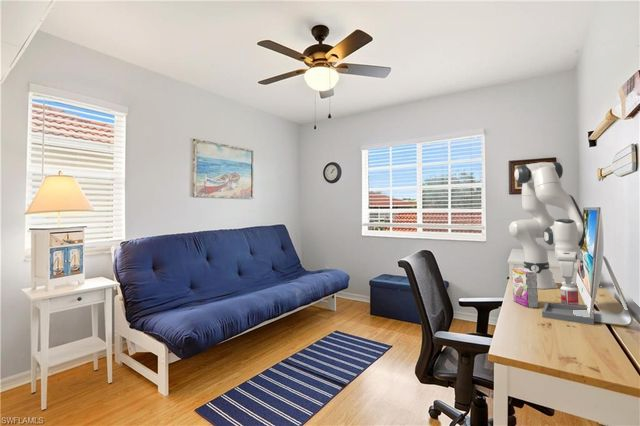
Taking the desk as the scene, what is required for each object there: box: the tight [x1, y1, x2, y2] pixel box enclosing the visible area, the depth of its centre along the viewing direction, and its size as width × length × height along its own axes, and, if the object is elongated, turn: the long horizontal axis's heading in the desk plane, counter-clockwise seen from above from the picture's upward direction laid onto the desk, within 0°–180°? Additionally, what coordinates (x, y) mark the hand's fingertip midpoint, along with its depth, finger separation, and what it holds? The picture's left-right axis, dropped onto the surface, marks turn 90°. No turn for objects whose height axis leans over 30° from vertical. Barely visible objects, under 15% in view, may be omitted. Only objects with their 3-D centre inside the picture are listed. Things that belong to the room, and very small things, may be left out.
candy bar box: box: [511, 267, 539, 309], centre depth 144 cm, size 11×5×16 cm, turn 179°
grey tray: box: [541, 301, 595, 326], centre depth 127 cm, size 16×16×2 cm
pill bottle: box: [560, 280, 580, 306], centre depth 138 cm, size 6×6×11 cm
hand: (569, 285), depth 138 cm, fingers open, 8 cm apart
